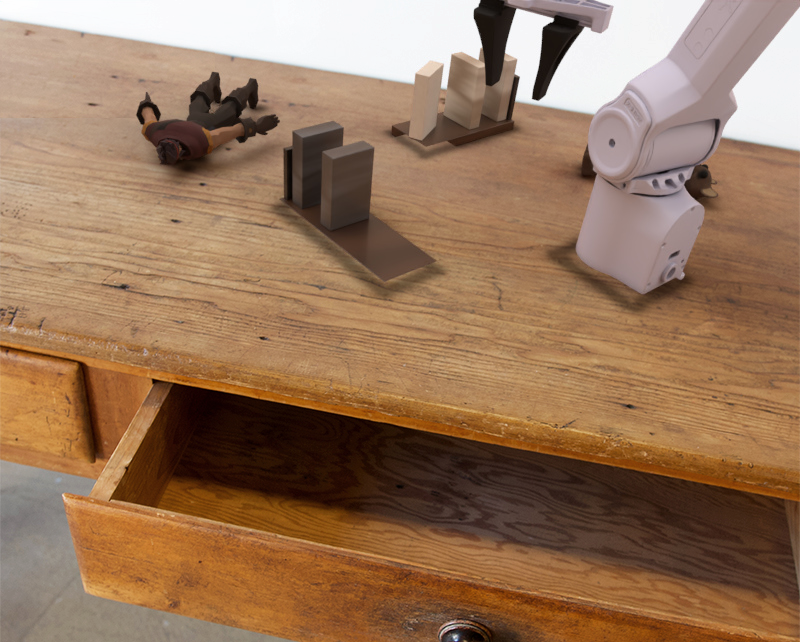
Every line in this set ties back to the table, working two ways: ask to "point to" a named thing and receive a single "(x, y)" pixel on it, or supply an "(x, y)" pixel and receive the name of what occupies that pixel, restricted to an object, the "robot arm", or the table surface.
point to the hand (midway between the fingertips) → (515, 90)
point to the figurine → (204, 122)
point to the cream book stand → (472, 103)
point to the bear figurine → (695, 185)
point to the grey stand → (344, 199)
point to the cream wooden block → (425, 100)
